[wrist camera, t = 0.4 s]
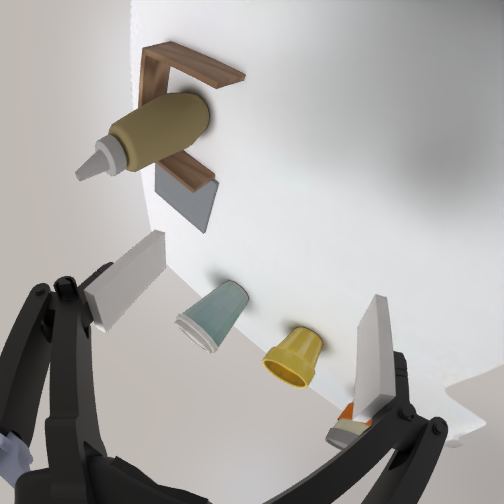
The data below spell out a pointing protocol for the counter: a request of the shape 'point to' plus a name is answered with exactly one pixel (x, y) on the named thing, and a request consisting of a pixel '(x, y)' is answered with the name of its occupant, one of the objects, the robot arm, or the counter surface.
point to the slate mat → (186, 198)
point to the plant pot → (295, 358)
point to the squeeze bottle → (148, 135)
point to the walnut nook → (155, 85)
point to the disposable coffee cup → (213, 316)
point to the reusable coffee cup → (346, 429)
